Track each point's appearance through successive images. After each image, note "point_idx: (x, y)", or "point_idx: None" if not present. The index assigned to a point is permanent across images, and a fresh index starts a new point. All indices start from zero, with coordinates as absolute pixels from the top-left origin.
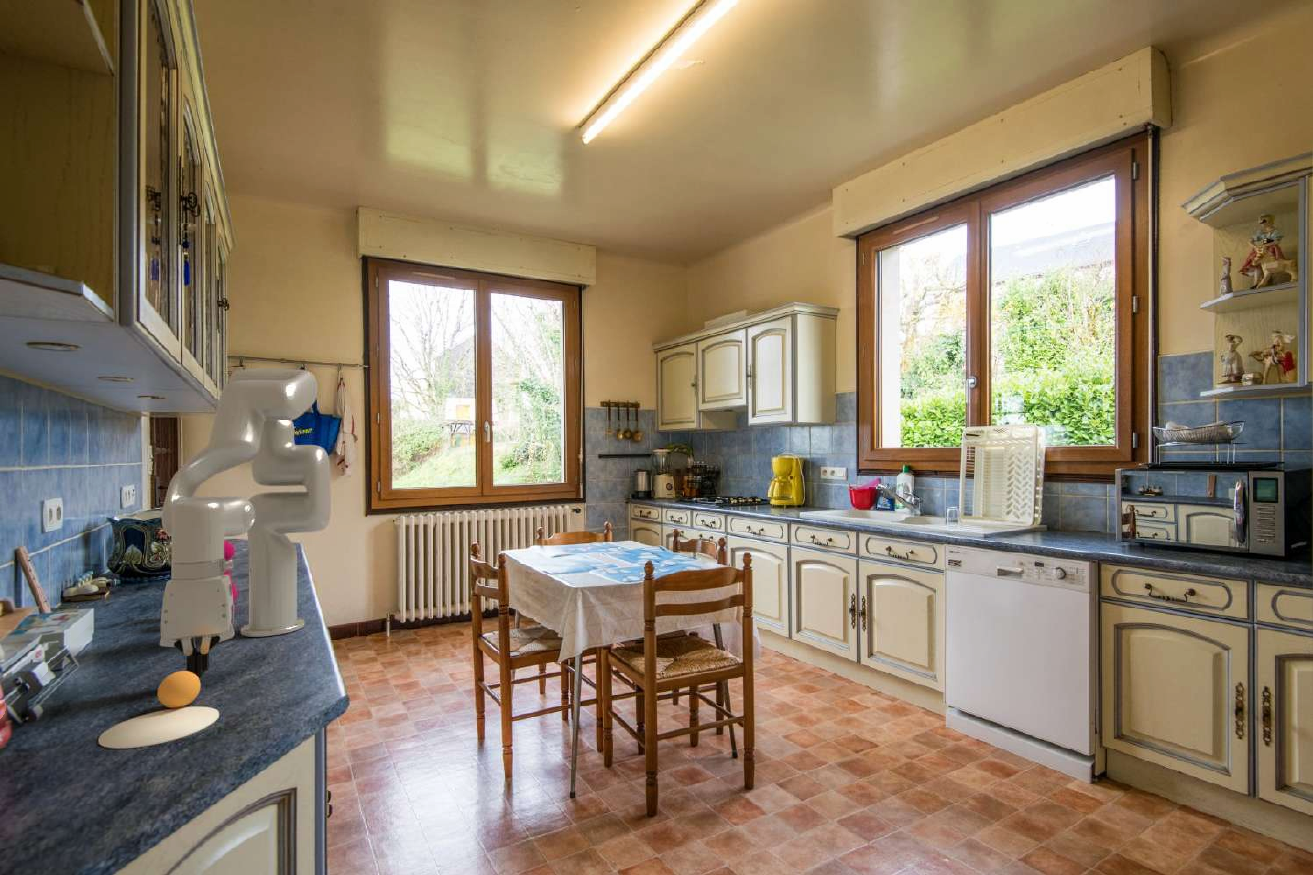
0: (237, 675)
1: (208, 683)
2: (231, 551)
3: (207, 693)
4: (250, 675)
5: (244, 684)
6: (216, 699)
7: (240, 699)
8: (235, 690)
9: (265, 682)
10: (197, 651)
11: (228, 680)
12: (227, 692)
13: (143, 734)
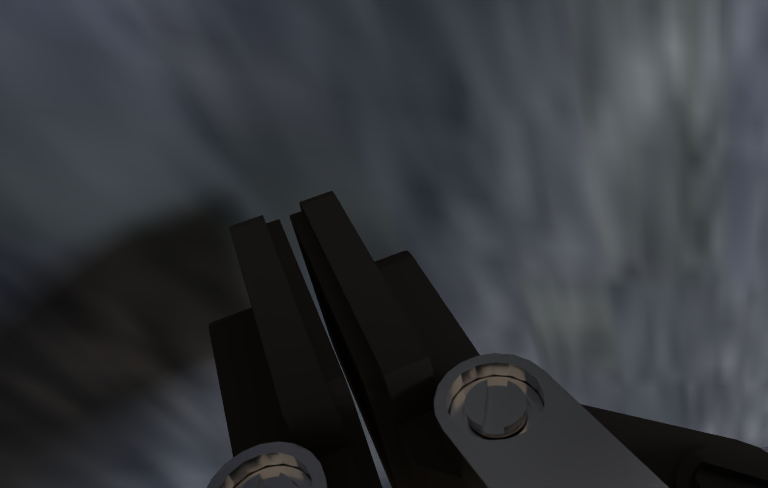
0: (554, 23)
1: (369, 214)
2: None
3: None
4: (657, 51)
5: (635, 259)
6: None
7: None
8: (599, 354)
9: (747, 234)
10: (339, 422)
11: (511, 159)
12: (562, 382)
13: None
